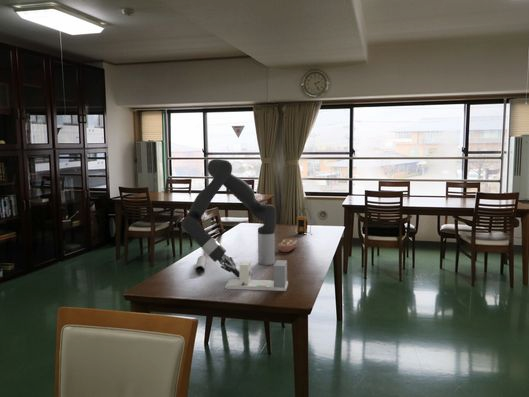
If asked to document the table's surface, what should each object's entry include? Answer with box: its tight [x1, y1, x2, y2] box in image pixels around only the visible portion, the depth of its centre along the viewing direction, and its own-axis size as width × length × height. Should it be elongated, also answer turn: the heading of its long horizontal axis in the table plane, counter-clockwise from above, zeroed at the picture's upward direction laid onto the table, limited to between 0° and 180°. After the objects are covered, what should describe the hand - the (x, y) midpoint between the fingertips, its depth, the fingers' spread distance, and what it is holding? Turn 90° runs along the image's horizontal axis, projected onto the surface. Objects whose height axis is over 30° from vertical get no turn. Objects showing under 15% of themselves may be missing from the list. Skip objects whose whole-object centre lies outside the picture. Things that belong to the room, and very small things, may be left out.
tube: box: [194, 255, 207, 276], centre depth 239 cm, size 5×5×25 cm
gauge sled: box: [238, 261, 253, 285], centre depth 206 cm, size 8×5×9 cm, turn 171°
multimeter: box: [292, 207, 312, 234], centre depth 333 cm, size 15×10×20 cm
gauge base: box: [224, 259, 289, 292], centre depth 206 cm, size 10×28×12 cm, turn 81°
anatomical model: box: [277, 238, 298, 253], centre depth 281 cm, size 23×10×5 cm, turn 164°
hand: (239, 275), depth 208 cm, fingers closed
